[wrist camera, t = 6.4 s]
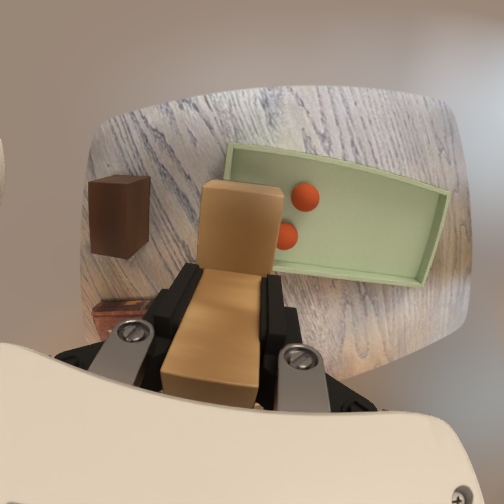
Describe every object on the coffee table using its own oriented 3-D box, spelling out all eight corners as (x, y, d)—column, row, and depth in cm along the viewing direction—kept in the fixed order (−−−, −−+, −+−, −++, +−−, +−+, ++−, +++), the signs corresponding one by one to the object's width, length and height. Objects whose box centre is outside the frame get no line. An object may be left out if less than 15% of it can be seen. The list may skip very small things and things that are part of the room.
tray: (218, 255, 33) (214, 263, 30) (230, 142, 28) (227, 142, 26) (415, 280, 33) (422, 288, 31) (441, 189, 28) (451, 192, 26)
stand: (115, 236, 32) (91, 253, 26) (115, 174, 29) (88, 181, 24) (148, 241, 32) (128, 259, 27) (150, 176, 29) (127, 183, 24)
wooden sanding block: (204, 325, 17) (166, 458, 8) (216, 176, 13) (130, 230, 4) (255, 333, 17) (247, 471, 8) (279, 184, 13) (311, 254, 5)
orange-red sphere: (268, 242, 31) (268, 252, 28) (272, 217, 30) (273, 224, 27) (293, 246, 31) (296, 256, 28) (298, 221, 30) (302, 228, 27)
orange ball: (287, 206, 30) (290, 212, 27) (291, 179, 28) (295, 182, 26) (313, 210, 30) (319, 217, 27) (318, 184, 28) (324, 188, 26)
